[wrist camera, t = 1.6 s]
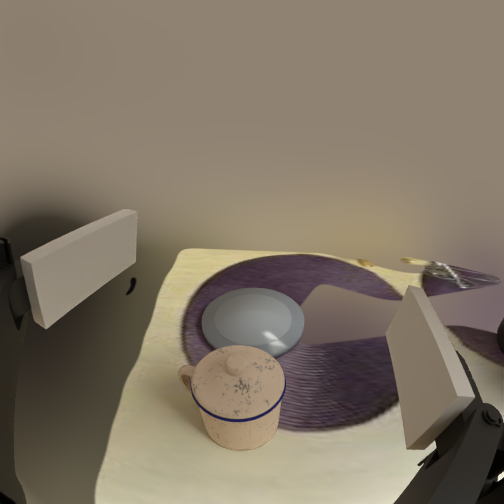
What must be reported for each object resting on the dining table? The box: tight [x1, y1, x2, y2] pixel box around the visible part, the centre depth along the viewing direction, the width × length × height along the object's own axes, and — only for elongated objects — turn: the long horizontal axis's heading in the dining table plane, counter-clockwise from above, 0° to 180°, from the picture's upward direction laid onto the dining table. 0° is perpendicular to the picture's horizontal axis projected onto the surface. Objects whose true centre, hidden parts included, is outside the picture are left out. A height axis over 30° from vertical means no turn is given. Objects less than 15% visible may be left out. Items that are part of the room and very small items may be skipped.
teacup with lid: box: [178, 345, 286, 451], centre depth 27 cm, size 12×9×12 cm
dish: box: [202, 288, 304, 359], centre depth 44 cm, size 16×16×1 cm
